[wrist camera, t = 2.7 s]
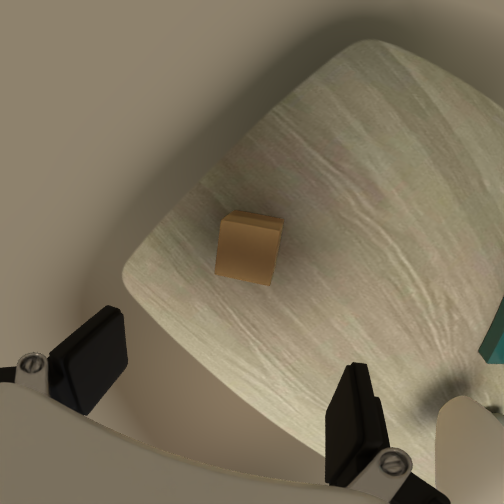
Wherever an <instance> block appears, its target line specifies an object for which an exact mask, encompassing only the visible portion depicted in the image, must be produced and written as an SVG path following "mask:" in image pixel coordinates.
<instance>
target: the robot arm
mask: <svg viewBox="0 0 504 504" xmlns="http://www.w3.org/2000/svg"><path fill="white" fill-rule="evenodd" d="M49 355H50V356H49V357H48V358H46V357H45V356H44V355H43V354H41V353H35V352H33V353H28V354H25V355H24V356H22V357H21V358H20V359H19V360H18V363H17V366H16V367H3V368H0V504H451V502H450V500H449V498H448V497H447V496H446V495H445V494H443V493H441V492H440V491H438V490H437V489H435V488H434V487H432V486H431V485H429V484H428V483H426V482H425V481H423V480H422V479H420V478H419V477H418V476H416V475H415V474H413V473H412V472H411V470H412V466H413V463H412V460H411V458H410V456H409V455H408V454H407V453H406V452H405V451H403V450H401V449H399V448H394V447H391V448H390V443H389V438H388V433H387V428H386V423H385V418H384V414H383V409H382V405H381V401H380V398H379V397H374V393H373V388H372V384H371V380H370V375H369V371H368V367H367V364H364V363H356V362H352V364H351V365H347V366H346V368H345V370H344V372H343V375H342V377H341V379H340V382H339V384H338V386H337V389H336V391H335V393H334V395H333V397H332V400H331V402H330V404H329V406H328V408H327V411H326V415H325V482H326V483H329V486H327V485H319V484H310V483H302V482H294V481H286V480H280V479H274V478H267V477H262V476H257V475H251V474H246V473H242V472H237V471H233V470H228V469H224V468H220V467H216V466H212V465H209V464H205V463H201V462H198V461H194V460H191V459H188V458H185V457H181V456H178V455H175V454H172V453H170V452H166V451H163V450H161V449H158V448H155V447H153V446H150V445H147V444H145V443H142V442H140V441H137V440H135V439H132V438H130V437H128V436H125V435H123V434H121V433H118V432H116V431H114V430H112V429H110V428H108V427H105V426H103V425H101V424H99V423H97V422H95V421H93V420H91V419H89V418H87V417H85V416H84V415H86V416H87V415H88V414H89V413H90V412H91V411H92V409H93V408H94V407H95V406H96V404H97V403H98V402H99V401H100V399H101V398H102V397H103V396H104V394H105V393H106V392H107V390H108V389H109V388H110V387H111V386H112V384H113V383H114V382H115V381H116V380H117V378H118V377H119V376H120V374H121V373H122V372H123V371H124V370H125V368H126V367H127V364H128V357H127V348H126V338H125V328H124V316H123V314H122V313H121V311H120V309H118V308H115V307H112V306H109V305H107V306H105V307H104V308H103V309H101V310H100V311H99V312H98V313H97V314H95V315H94V316H93V317H92V318H90V319H89V320H88V321H87V322H85V323H84V324H83V325H82V326H81V327H80V328H78V329H77V330H76V331H75V332H73V333H72V334H71V335H70V336H69V337H68V338H66V339H65V340H64V341H63V342H62V343H60V344H59V345H58V346H57V347H56V348H54V349H53V350H52V351H51V352H50V353H49Z"/></svg>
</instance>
